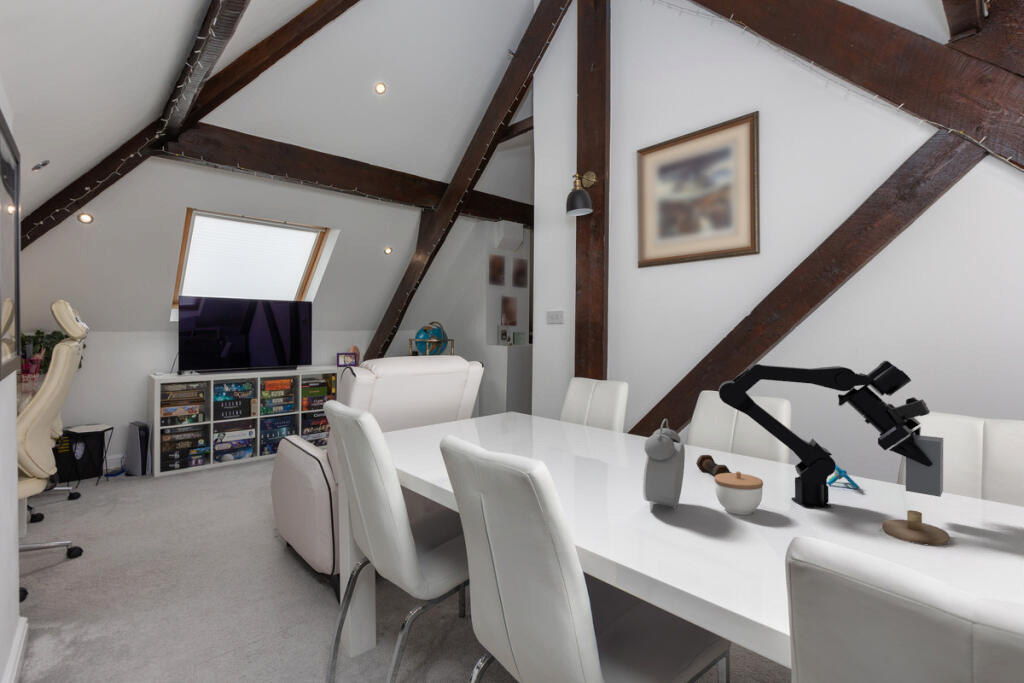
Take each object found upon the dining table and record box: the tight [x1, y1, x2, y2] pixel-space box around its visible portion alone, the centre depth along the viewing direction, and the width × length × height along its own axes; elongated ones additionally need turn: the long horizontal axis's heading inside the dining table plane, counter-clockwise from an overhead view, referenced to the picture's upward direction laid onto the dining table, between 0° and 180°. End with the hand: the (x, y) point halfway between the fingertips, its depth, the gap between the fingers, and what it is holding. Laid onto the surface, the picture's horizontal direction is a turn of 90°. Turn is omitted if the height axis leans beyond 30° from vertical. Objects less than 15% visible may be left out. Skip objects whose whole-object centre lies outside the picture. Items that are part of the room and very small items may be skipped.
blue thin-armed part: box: [827, 463, 860, 489], centre depth 142 cm, size 11×6×10 cm
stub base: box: [881, 510, 950, 546], centre depth 107 cm, size 11×11×5 cm
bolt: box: [696, 454, 733, 478], centre depth 152 cm, size 6×5×15 cm
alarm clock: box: [642, 418, 686, 512], centre depth 125 cm, size 16×9×22 cm, turn 154°
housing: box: [905, 434, 944, 498], centre depth 114 cm, size 6×6×12 cm
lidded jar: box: [714, 471, 764, 516], centre depth 122 cm, size 11×11×9 cm
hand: (932, 462), depth 113 cm, fingers closed on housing, 6 cm apart
